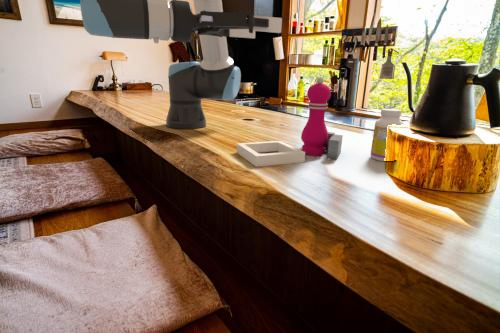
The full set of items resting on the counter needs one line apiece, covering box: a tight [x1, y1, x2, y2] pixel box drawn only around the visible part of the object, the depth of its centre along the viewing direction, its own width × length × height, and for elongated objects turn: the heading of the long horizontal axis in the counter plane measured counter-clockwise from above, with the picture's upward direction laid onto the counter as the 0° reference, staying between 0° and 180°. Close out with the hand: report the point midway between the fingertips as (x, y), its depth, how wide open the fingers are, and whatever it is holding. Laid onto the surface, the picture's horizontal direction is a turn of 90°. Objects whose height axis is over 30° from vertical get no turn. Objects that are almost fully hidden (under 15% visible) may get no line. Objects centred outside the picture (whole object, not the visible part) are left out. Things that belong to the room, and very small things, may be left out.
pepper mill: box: [300, 76, 332, 157], centre depth 80 cm, size 7×7×20 cm
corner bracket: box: [323, 131, 343, 161], centre depth 83 cm, size 15×7×5 cm, turn 22°
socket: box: [236, 140, 306, 168], centre depth 77 cm, size 13×13×2 cm
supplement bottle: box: [370, 108, 404, 162], centre depth 78 cm, size 7×7×13 cm
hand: (266, 29), depth 68 cm, fingers open, 13 cm apart
